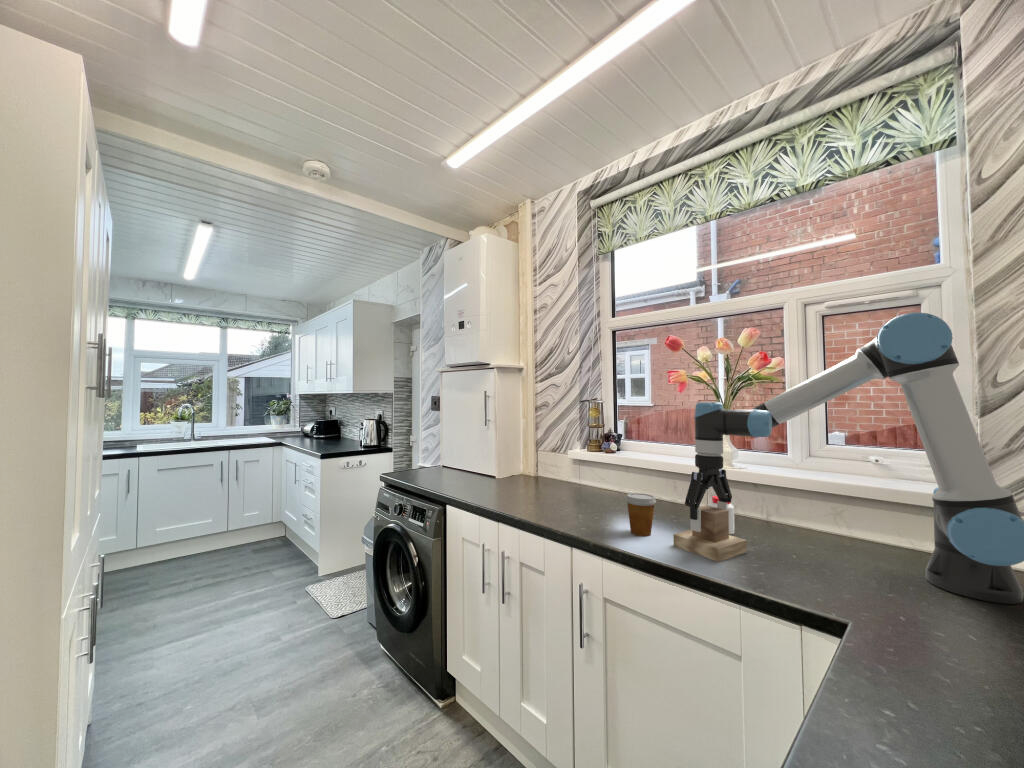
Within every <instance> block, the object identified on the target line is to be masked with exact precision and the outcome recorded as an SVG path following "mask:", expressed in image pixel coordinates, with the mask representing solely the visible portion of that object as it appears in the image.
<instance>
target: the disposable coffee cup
mask: <svg viewBox="0 0 1024 768" xmlns="http://www.w3.org/2000/svg"><path fill="white" fill-rule="evenodd" d="M625 500H626V503H627V511H628V519H629V528H630V533H631V534H632V535H634V536H639V537H649V536H651V535H652V528H653V520H654V515H655V513H654V512H655V505H656V503H657V500H656V498H655V496H654V495H652V494H647V493H641V492H640V493H639V492H633V493H628V494H627V495H626V498H625Z"/></svg>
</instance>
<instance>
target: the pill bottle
mask: <svg viewBox="0 0 1024 768" xmlns="http://www.w3.org/2000/svg"><path fill="white" fill-rule="evenodd" d="M717 501H720V500H719V499H718V497H717V495H713V496H711V501H710V502H708V505H707V506H711V507H715V508H717ZM727 510H728V511H729V535H733V534H735V506H734V505H733V504H732V502H731V503H729V502H727Z"/></svg>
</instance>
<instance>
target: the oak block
mask: <svg viewBox="0 0 1024 768" xmlns="http://www.w3.org/2000/svg"><path fill="white" fill-rule="evenodd" d="M747 543H748V542H747V539H745V538H740V537H737V536H734V535H732V534H729V539H726V540H722V541H719V542H716V543H714V542H711V541H708V540H705V539H701V538H698V537H695V536H692V530H689V529H687V530H684V531H680V532H676V533H674V534H673V547H675V548H679V549H681V550H683V551H684V550H685V551H688V552H690V553H692V554H695V555H699V556H701V557H704V558H707V559H710V560H713V561H715V562H718V563H720V562H721V561H725V560H728V559H731V558H734V557H737V556H740V555H742V554H743V555H744V554H745V553H747V552H748V550H747V549H748V548H747V546H748V545H747Z"/></svg>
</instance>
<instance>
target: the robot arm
mask: <svg viewBox="0 0 1024 768" xmlns="http://www.w3.org/2000/svg"><path fill="white" fill-rule="evenodd" d="M952 343H953V332H952V329H951V328H950V326H949V325H948V323H947V322H946V321H945V320H943V319H942V318H940V317H939V316H936V315H933V314H931V313H927V312H907V313H904V314H899V315H897V316H895V317H894V318H892V319H890V320H888V321H887V322H885V323H884V324H883V325H882V326H881V327H880V329H879V330H878V332H877V334H876V337H874V338H873V339H872V340H871V341H870V342H868V343H867V344H865V345H863V346H861V347H859V348H857V349H856V352H855V354H854V355H852V356H850V357H849V358H847V359H845V360H843V361H841V362H839V363H838V364H836V365H833V366H832V367H829V368H827V369H826V370H824V371H822V372H820V373H818V374H816V375H814V376H812V377H811V378H808V379H807V380H805V381H803V382H800V383H799V384H797V385H795V386H793V387H792V388H789V389H788V390H786V391H784V392H782V393H780V394H778V395H775V396H774V397H772V398H770V399H769V400H767V401H764V402H763V403H760V404H758V405H756V406H755V407H753V408H751V409H726V408H724V404H723V403H722V402H715V401H714V402H709V401H706V402H702V401H701V402H700V401H699V402H698V403H696V404H695V408H694V409H695V410H694V411H695V412H694V433H695V435H694V439H695V440H694V441H695V442H694V444H695V445H694V447H695V448H694V452H695V453H697V454H695V455H694V465H695V467H696V468H698V472H697V471H692V472H691V477H690V478H691V479H690V482H689V486H688V489H687V493H686V497H685V501H684V505H685V506H686V507H689V518H690V523H689V524H690V525H689V526H690V530H693V531H697V532H701V508H699V507H700V505H701V503H702V501H703V498H704V496H705V494H706V491H707V490H709V489H710V488H712V489H713V492H714V493H715V496H717V497H718V499H719V500H720V501H717V508H719V509H723V510H727V502H729V503H731V504H732V500H733V495H732V493H731V488H730V485H729V482H728V478H727V471H726V469H724V456H723V454H724V436H737V437H751V438H755V439H756V438H769V437H770V436H771V434H772V432H773V428H775V427H777V426H779V425H781V424H783V423H786V422H788V421H789V420H791V419H793V418H796V417H798V416H800V415H802V414H804V413H806V412H808V411H810V410H812V409H814V408H816V407H819V406H820V405H823V404H825V403H827V402H829V401H832V400H833V399H835V398H838V397H839V396H842V395H844V394H846V393H848V392H850V391H852V390H854V389H856V388H859V387H860V386H863V385H865V384H866V383H868V382H871V381H873V380H875V379H879V380H885V379H887V378H889V380H890V381H893V382H895V383H898V384H899V385H900V386H901V387H900V388H901V390H902V392H903V394H904V397H905V400H906V404H907V406H908V408H909V411H910V414H911V416H912V419H913V422H914V424H915V427H916V430H917V432H918V435H919V439H920V441H921V443H922V446H923V448H924V452H925V455H926V457H927V459H928V462H929V466H930V468H931V470H932V473H933V476H934V477H935V481H936V484H937V487H935V488H934V489H933V493H932V497H931V498H932V501H933V528H934V529H933V530H934V532H933V534H934V535H933V537H934V549H933V551H932V554H931V555H930V558H929V561H928V563H927V564H926V567H925V570H924V571H925V575H924V576H925V580H926V581H927V582H928V583H930V584H931V585H933V586H935V587H938V588H940V589H943V590H945V591H947V592H951V593H953V594H957V595H959V596H963V597H968V598H970V599H976V600H980V601H985V602H991V603H995V604H996V603H998V604H1006V605H1014V604H1015V605H1017V604H1023V602H1024V591H1023V588H1022V586H1021V584H1020V581H1019V580H1018V578H1017V576H1016V574H1015V571H1014V570H1013V567H1012V566H1015V565H1018V564H1022V563H1023V562H1024V519H1023V518H1022V515H1021V513H1020V511H1019V509H1018V508H1019V507H1018V505H1017V503H1016V501H1015V498H1014V496H1013V493H1012V492H1011V491H1010V490H1008V489H1005V488H1004V487H1002V486H1000V485H998V484H997V482H996V480H995V476H994V474H993V472H992V469H991V467H990V465H989V461H988V459H987V457H986V454H985V452H984V449H983V446H982V445H981V442H980V440H979V437H978V434H977V431H976V430H975V426H974V425H973V421H972V419H971V417H970V415H969V412H968V408H967V407H966V404H965V402H964V399H963V397H962V394H961V392H960V390H959V387H958V384H957V382H956V379H955V377H954V372H955V371H956V370H957V368H958V367H959V366H960V363H959V359H958V357H957V355H956V353H955V350H954V347H953V345H952Z"/></svg>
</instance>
